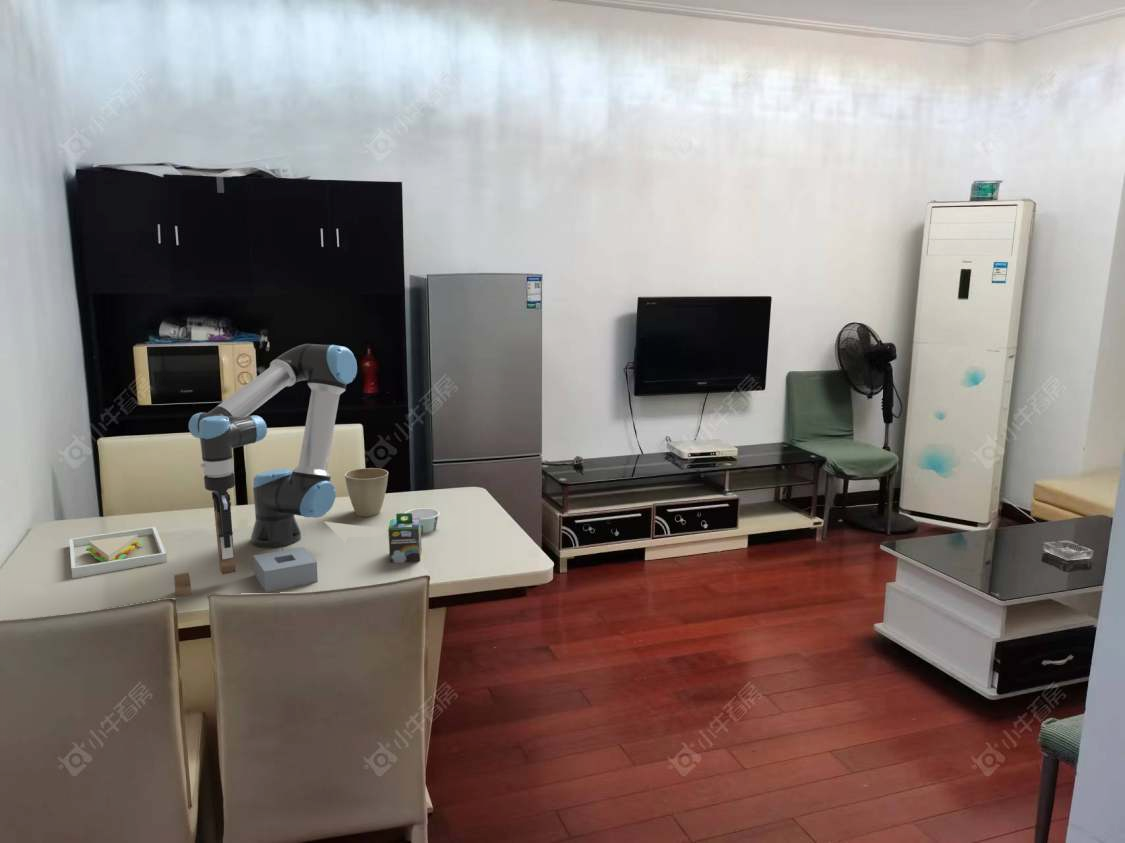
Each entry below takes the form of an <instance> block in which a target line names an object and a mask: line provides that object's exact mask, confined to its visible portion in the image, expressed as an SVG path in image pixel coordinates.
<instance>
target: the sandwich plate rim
mask: <svg viewBox="0 0 1125 843" xmlns="http://www.w3.org/2000/svg"><path fill="white" fill-rule="evenodd" d="M150 534H151V535H152V536H153V538H155V539H154V540H155V544H156V546H157V549H158V552H159V553H153V554H147V555H141V556H134V557H129V558H127V557H126V558H125V559H121V560H115V561H108V562H102V563H101V562H97V563H91V564H85V565H84V564H83V565H78V566H76V555H75V547H80V546H81V547H82V546H89V541H94V540H101V539H109V538H117V537H124V536H132V535H137V536H139V537H143V536H144V535H145V536H150ZM145 536H144V537H145ZM68 540H69V541H68V542H69V552H70V567H71V576H72V579H79V578H83V577H88V576H94V575H99V574H100V575H101V574H105V573H111V572H117V571H122V570H129V569H133V568H138V567H139V566H140V567H145V566H144V565H146V566H151V565H155V564H156V565H157V564H162V563H168V558H167V552H166V549H165V547H164V545H163V542H162V540H161V536H160V534H159V532H158V529H157V528H156V526H150V527H142V528H136V529H130V530H123V531H115V532H109V533H102V534H101V533H100V534H94V535H88V536H87V535H86V536H80V537H79V536H78V537H73V538H69V539H68ZM150 564H151V565H150Z"/></svg>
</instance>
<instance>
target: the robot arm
mask: <svg viewBox="0 0 1125 843" xmlns="http://www.w3.org/2000/svg"><path fill="white" fill-rule="evenodd" d="M354 355H355V354H354V353H353V352H352V351H351V350H350V349H349V347H346V346H341V345H336V344H315V343H304V344H301V345H298V346H295V347H293V348H291V349H289V350H287V351H285V352H283V353H281V355H279V356H278V357H276V358H275V359H273V360H272V361H271V362H270V363H269V367H268V368H267V369H265V370H264V371H263V372H262V373H260V374H259V375H257V376H256V377H254V378H253V379H252V380H250V381H248V383H246V384H244V385H243V387H241V388H239V390H236V392H234V393H233V394H232V395H230V396H229V397H227V398H226V399H224V401H222V402H220V403H219V404H218V405H217V406H215V407H214V408H213V409H211V410H210V411H208V412H204V411H203V412H198V413H195V414H193V415H192V416H191V418H190V419H189V421H188V430H189V432H190V435H191V436H192V437H194V438H196V439H199V440H200V448H201V449H200V450H201V457H202V458H201V459H202V462H203V463H200V468H203V474H204V476H203V479H204V481H203V482H204V489H205V490H206V491H209V492H211V497H212V498H211V499H212V501H213V510H214V509H216V511H217V512H219V521H220V529H221V535H218V537H219V538H221V549H222V559H228V558H233V547H232V536H231V535H233V534H234V532H233V523H232V521H233V520H232V512H231V511H232V508H231V507H232V502H231V497H230V496H231V495H230V494H229V492H228V490H230V489H233V488H234V487H235V485H236V484H235V483H236V482H235V481H236V480H235V474H234V473H233V472H234V470H235V468H234V467H235V466H234V457H233V449H237V448H239V447H243V446H249V445H251V444H255V443H257V442H260V441H263V440H264V438H266V436H267V433H268V427H267V423H266V421H265V420H264V419H263V417H261V416H259V415H255V414H253V415H251V414H252V413H254V411H256V410H257V409H259V408H260V407H261V406H263V405H264V404H265V403H266V402H268V400H270V399H272V398H273V397H274V396H275V395H277V394H278V393H279V392H280V391H281V390H283V389H284V388H286V387H292V386H293V385H295V384H296V383H298V382H301V381H307V385H308V387H309V388H310V390H311V392H310V396H309V404H308V409H307V415H306V420H305V426H304V432H303V438H302V444H301V447H300V448H301V450H300V455H299V461H298V465H297V467H295V468H294V469H292V470H291V469H290V468H281V469H280V468H278V469H273V470H268V471H263V472H260V473H257V474H256V475H255V476H254V477H253V487H252V490H253V502H254V504H253V505H254V513H255V521H254V525H253V528H252V532H251V536H250V544H251V545H252V546H254V547H256V548H261V549H277V548H279V549H280V548H285V547H288V546H291V545H292V546H293V545H294V544H297V543H298V542H299V541H301V539H302V533H301V530H300V527H299V525H298V522H297V520H296V517H295V516H300V517H304V518H314V519H315V518H321V517H323V516H325V515H327V513H329V512H330V510H331V509H332V508H333V505H334V503H335V501H336V496H337V494H336V493H337V492H336V489H335V485H334V484H333V483H332V482H331V478H332V476H331V474H330V473H329V471H328V464H329V459H330V453H331V447H332V442H333V435H334V429H335V424H336V419H337V412H338V408H339V401H340V396H341V395H342V394H343V393H344V392H346V389H347V385H348V384H350V383H352V382H353V381H354V380H355V378H356V376H357V374H358V365H357V364H358V363H357V359H356V357H355V356H354ZM214 525H215V526H216V523H215V524H214Z"/></svg>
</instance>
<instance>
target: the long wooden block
mask: <svg viewBox="0 0 1125 843" xmlns="http://www.w3.org/2000/svg"><path fill="white" fill-rule="evenodd" d="M213 512H214V521H215V522H214V523H215V524H216V525H215V534H216V542H217V543H216V544H217V552H218V553H217V554H218V564H219V571H220V573H221V575H227V574H231V573H236V571H237V570H236V569H237V568H236V562H235V561H236V560H235V559H236V558H235V548H234V547H235V546H234V539H233V538H234V537H233V535H231V536H232V547H233V558H228V559H222V549H221V538H219V537H218V535H221V529H220V521H219V512H217V511H216V509H214V508H213Z"/></svg>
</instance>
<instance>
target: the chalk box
mask: <svg viewBox="0 0 1125 843" xmlns="http://www.w3.org/2000/svg"><path fill="white" fill-rule="evenodd" d="M395 516H396V518H395V519H390V521H389V526H388V530H387V532H388V546H389V548H388V549H389V551H388V552H389V563H391V564H397V563H399V564H401V563H419V562H421V560H422V559H421V558H422V554H423V553H422V551H423V550H422V533H421V526H420V518H412V513H405V512H403V513H400V512H399V513H396V514H395ZM404 516H406V517H408V518H406V519H405V518H404ZM402 517H403V518H402Z"/></svg>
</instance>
